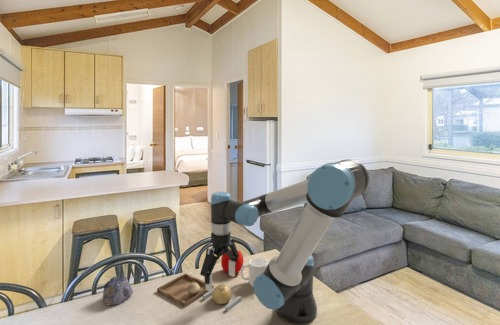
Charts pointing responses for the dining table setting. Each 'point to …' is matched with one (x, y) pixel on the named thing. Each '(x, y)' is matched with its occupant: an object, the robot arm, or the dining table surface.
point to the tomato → (225, 262)
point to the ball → (193, 288)
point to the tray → (182, 289)
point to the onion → (221, 294)
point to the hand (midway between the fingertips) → (220, 282)
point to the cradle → (226, 305)
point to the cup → (254, 269)
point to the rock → (117, 290)
